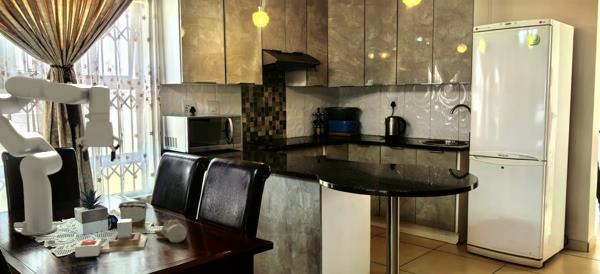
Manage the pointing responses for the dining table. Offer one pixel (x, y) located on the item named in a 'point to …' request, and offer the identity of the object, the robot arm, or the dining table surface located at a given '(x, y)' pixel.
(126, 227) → the block
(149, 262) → the dining table surface
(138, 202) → the food container
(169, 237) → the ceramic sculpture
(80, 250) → the button box
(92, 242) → the button
